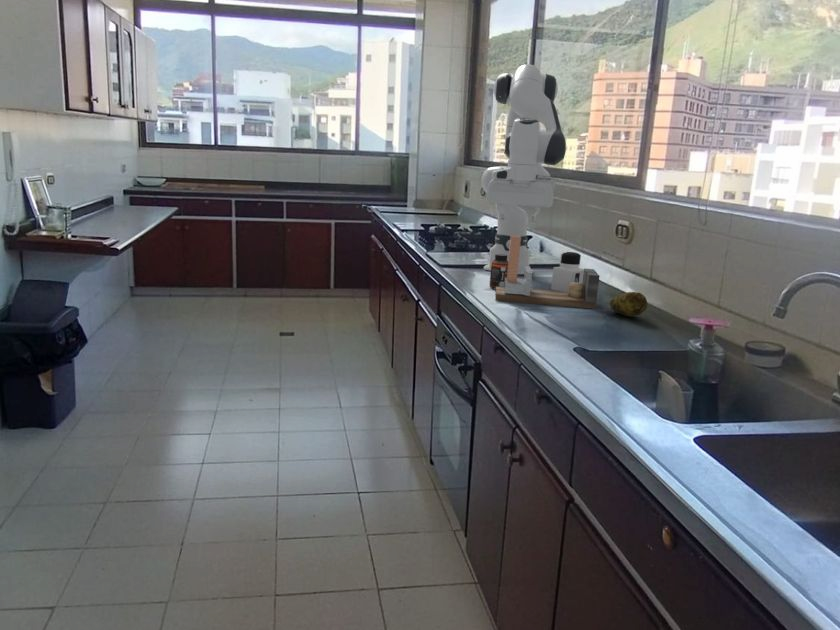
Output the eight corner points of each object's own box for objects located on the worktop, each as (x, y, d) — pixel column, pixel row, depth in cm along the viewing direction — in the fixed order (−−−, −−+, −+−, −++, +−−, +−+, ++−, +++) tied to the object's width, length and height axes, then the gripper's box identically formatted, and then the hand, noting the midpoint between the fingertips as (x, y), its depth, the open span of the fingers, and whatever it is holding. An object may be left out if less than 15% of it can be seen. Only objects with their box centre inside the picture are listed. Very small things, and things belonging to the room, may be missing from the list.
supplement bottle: (506, 290, 221) (509, 256, 218) (488, 288, 222) (491, 254, 219) (507, 287, 227) (511, 254, 224) (490, 285, 228) (493, 252, 225)
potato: (634, 312, 200) (638, 286, 199) (648, 323, 188) (652, 295, 186) (606, 311, 201) (610, 284, 199) (618, 321, 188) (622, 293, 186)
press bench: (495, 292, 217) (498, 261, 214) (589, 300, 214) (593, 269, 212) (495, 300, 205) (498, 268, 203) (595, 308, 203) (599, 275, 200)
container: (582, 291, 228) (587, 253, 224) (570, 294, 222) (575, 255, 219) (562, 287, 233) (566, 250, 229) (550, 289, 227) (554, 251, 224)
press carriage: (503, 286, 216) (508, 233, 212) (527, 288, 215) (533, 235, 211) (504, 293, 204) (509, 238, 200) (529, 295, 204) (535, 239, 200)
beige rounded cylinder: (567, 294, 211) (568, 282, 210) (581, 295, 210) (583, 283, 209) (568, 297, 206) (570, 284, 205) (583, 298, 206) (585, 285, 205)
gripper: (555, 175, 204) (550, 221, 207) (488, 171, 205) (484, 216, 209) (557, 176, 197) (552, 224, 201) (487, 172, 199) (483, 219, 203)
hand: (517, 220), depth 205 cm, fingers open, 8 cm apart
